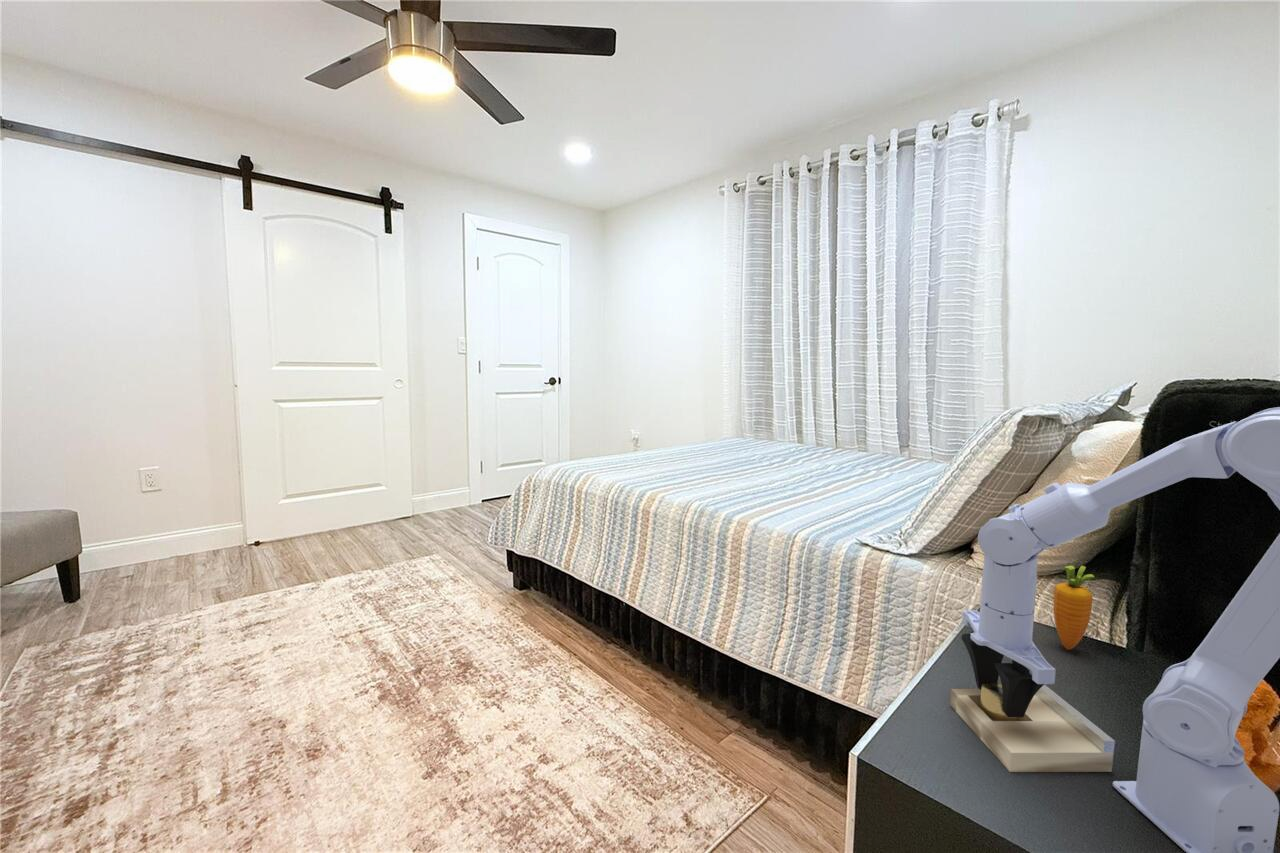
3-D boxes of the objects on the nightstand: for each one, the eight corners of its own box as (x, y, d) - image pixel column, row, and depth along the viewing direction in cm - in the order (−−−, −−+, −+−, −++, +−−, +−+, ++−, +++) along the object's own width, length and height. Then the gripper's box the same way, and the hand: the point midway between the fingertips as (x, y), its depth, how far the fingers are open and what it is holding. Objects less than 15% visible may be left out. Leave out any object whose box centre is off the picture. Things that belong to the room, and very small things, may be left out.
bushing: (1022, 736, 67) (1025, 700, 66) (992, 737, 67) (995, 702, 66) (1000, 715, 71) (1003, 681, 70) (972, 716, 71) (974, 682, 70)
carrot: (1072, 642, 88) (1080, 559, 87) (1095, 658, 84) (1104, 571, 82) (1042, 641, 89) (1049, 558, 87) (1062, 657, 84) (1070, 570, 82)
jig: (1111, 771, 61) (1115, 740, 60) (1009, 772, 61) (1012, 741, 60) (1035, 704, 73) (1037, 678, 72) (950, 705, 73) (951, 679, 72)
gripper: (943, 581, 74) (938, 669, 76) (1016, 634, 59) (1007, 741, 61) (992, 581, 74) (986, 669, 75) (1077, 633, 59) (1067, 740, 61)
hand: (999, 701), depth 68 cm, fingers open, 5 cm apart
